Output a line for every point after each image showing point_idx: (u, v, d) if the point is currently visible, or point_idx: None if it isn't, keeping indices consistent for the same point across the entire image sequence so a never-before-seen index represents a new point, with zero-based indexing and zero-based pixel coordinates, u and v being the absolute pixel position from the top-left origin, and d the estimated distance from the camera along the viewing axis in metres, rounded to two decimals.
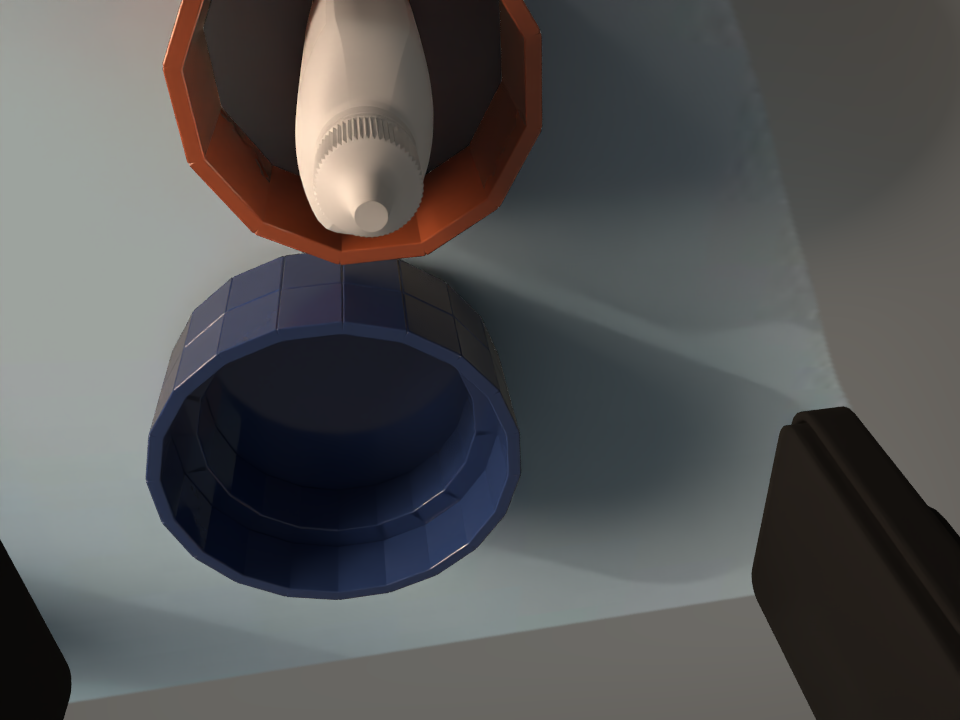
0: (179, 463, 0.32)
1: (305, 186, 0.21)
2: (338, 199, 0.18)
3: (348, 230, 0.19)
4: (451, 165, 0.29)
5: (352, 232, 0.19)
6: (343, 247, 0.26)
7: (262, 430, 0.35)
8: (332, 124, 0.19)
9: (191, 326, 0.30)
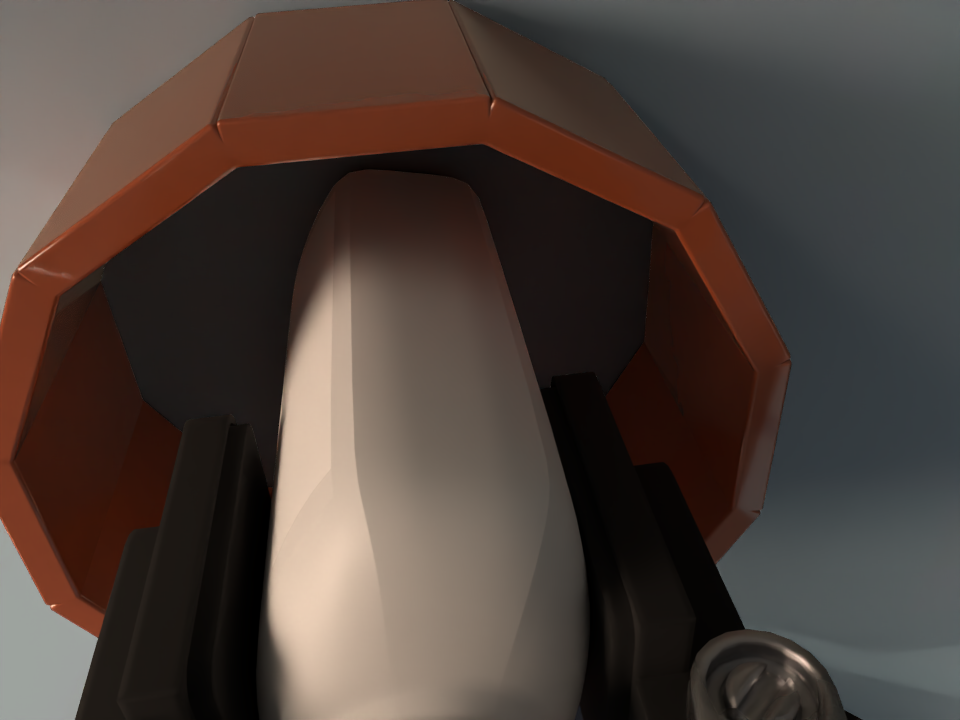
0: None
1: None
2: None
3: None
4: None
5: None
6: None
7: None
8: None
9: None
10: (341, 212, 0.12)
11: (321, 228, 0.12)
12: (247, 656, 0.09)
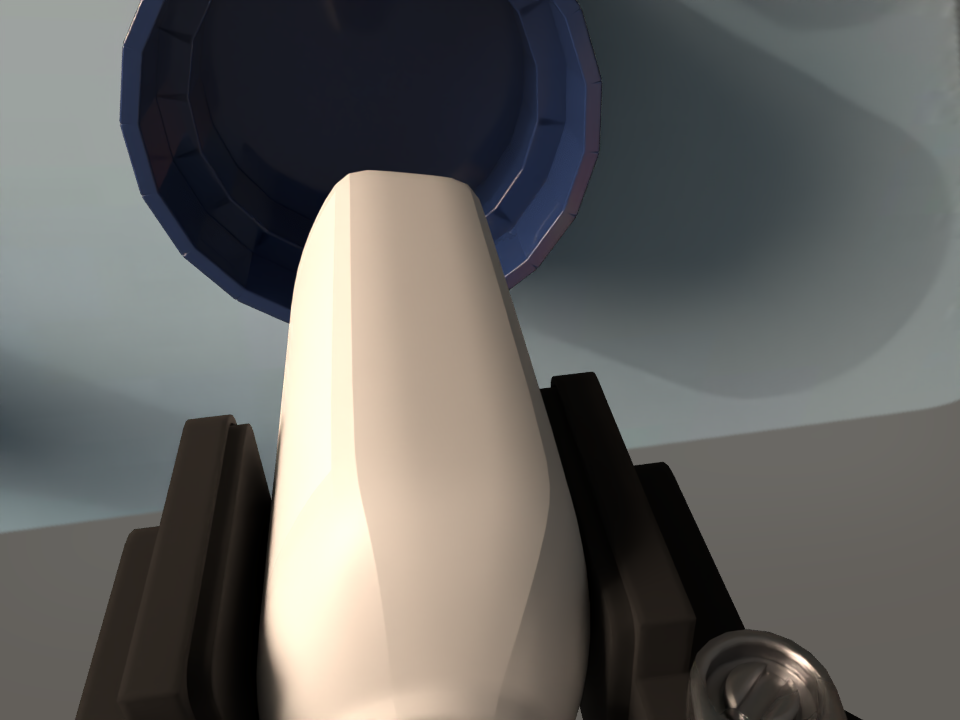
0: (165, 138, 0.25)
1: None
2: None
3: None
4: None
5: None
6: None
7: (270, 133, 0.28)
8: None
9: None
10: (341, 213, 0.12)
11: (321, 229, 0.12)
12: (247, 656, 0.09)
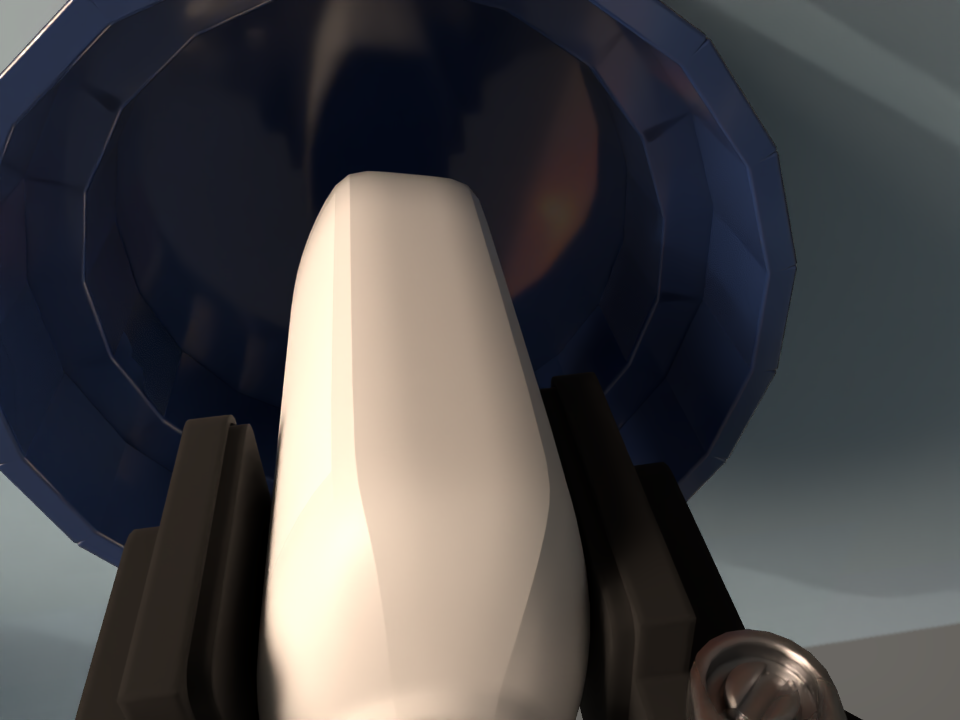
0: (48, 345, 0.15)
1: None
2: None
3: None
4: None
5: None
6: None
7: (231, 302, 0.18)
8: None
9: None
10: (341, 214, 0.12)
11: (321, 230, 0.12)
12: (247, 656, 0.09)
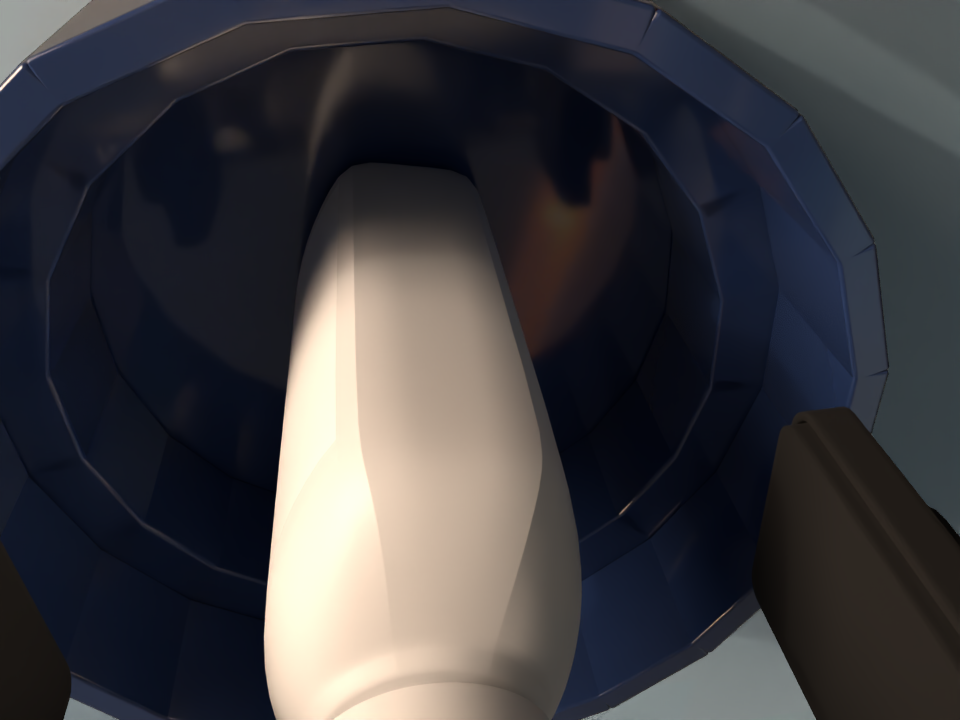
0: (8, 449, 0.13)
1: None
2: None
3: None
4: None
5: None
6: None
7: (223, 382, 0.16)
8: None
9: None
10: (344, 203, 0.12)
11: (325, 219, 0.13)
12: None
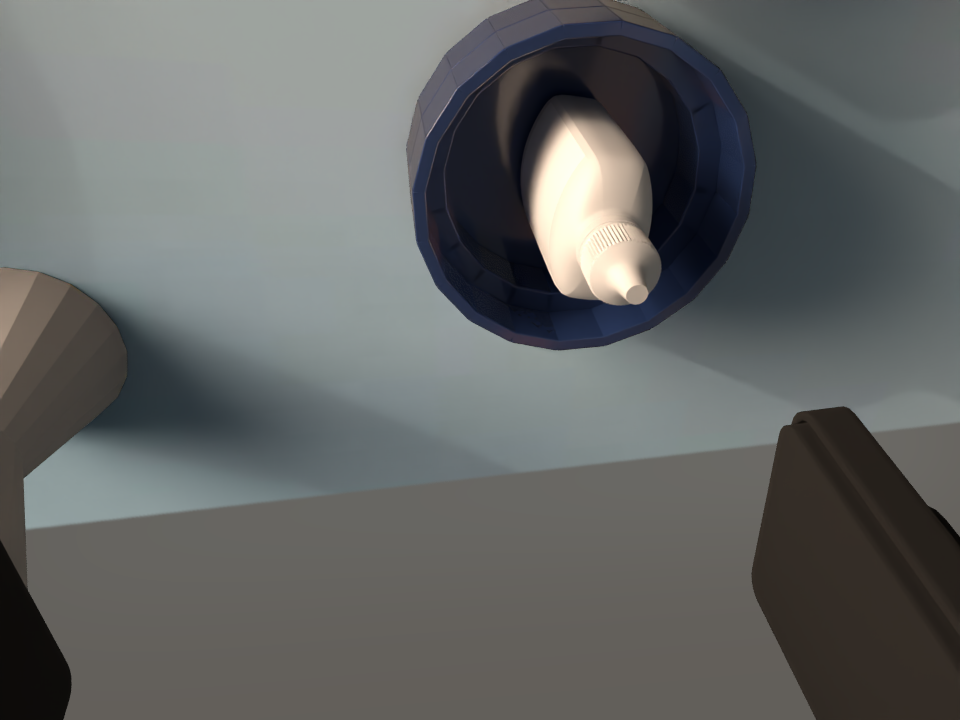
0: None
1: (556, 265, 0.30)
2: (607, 280, 0.27)
3: (606, 300, 0.28)
4: None
5: (609, 302, 0.28)
6: None
7: (483, 194, 0.36)
8: (595, 227, 0.28)
9: (451, 58, 0.32)
10: (557, 106, 0.33)
11: (547, 114, 0.34)
12: None
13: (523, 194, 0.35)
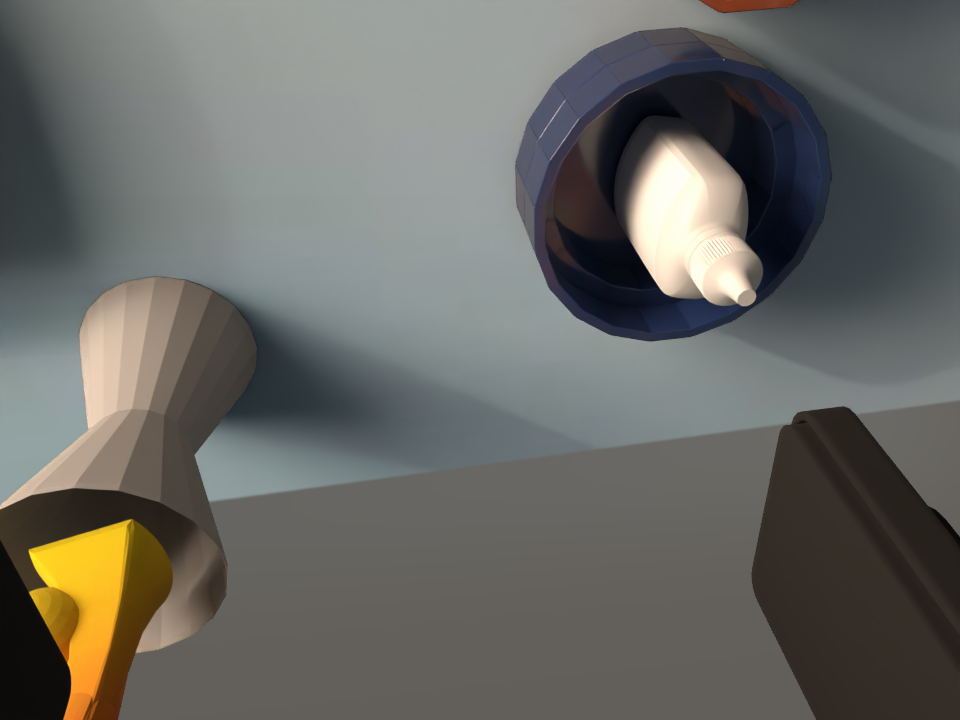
0: None
1: (663, 270, 0.35)
2: (717, 285, 0.31)
3: (715, 302, 0.32)
4: None
5: (717, 303, 0.32)
6: None
7: (580, 203, 0.41)
8: (704, 239, 0.32)
9: (562, 87, 0.36)
10: (654, 127, 0.37)
11: (643, 133, 0.38)
12: None
13: (618, 203, 0.40)
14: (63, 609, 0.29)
